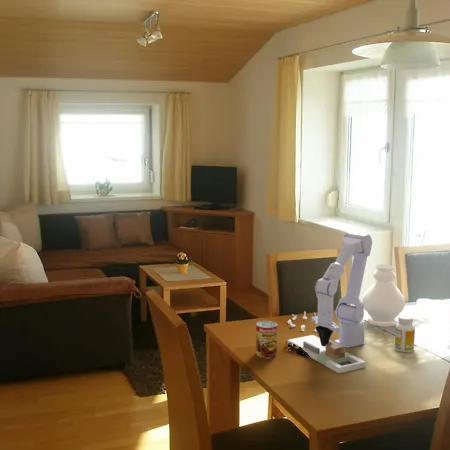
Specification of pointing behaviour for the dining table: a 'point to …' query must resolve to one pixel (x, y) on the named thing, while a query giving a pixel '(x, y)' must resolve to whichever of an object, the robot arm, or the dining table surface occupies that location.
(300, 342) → the deck
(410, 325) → the supplement bottle
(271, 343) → the canned food
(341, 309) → the robot arm
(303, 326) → the game piece set
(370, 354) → the dining table surface
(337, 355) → the block
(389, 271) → the decorative vase
